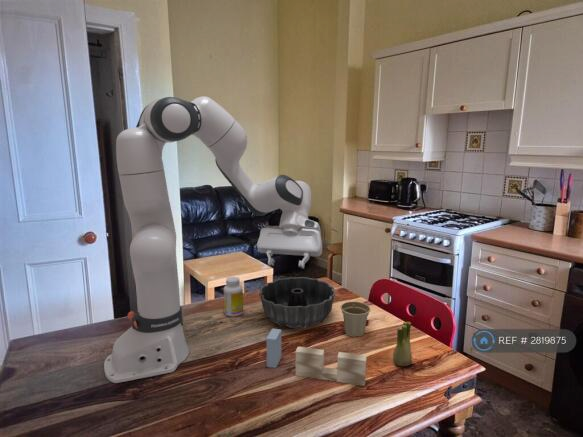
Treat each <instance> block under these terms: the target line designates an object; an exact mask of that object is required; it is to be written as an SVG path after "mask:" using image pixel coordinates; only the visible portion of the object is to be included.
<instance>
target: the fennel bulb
mask: <svg viewBox="0 0 583 437" xmlns="http://www.w3.org/2000/svg"><path fill="white" fill-rule="evenodd" d="M411 327H412V322H410V321H405V322H404V321H403V323H402V326H401V327H400V326H399V327H397V329H396V330H397V333H396V334H397V335H396V336H397V338H396V346H395V348H394V350H393V352H392V353H393V354H392V359H393V362H394V363H395V365H396V366H399V367H401V366H402V367H408V366H410V365H411V364H412V362H413V360H412V358H413V356H412V355H413V354H412V349H411V347H412V346H411V340H410V339H411V338H410V337H411Z"/></svg>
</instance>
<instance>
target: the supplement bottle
mask: <svg viewBox="0 0 583 437" xmlns="http://www.w3.org/2000/svg"><path fill="white" fill-rule="evenodd" d="M240 282H241V281H240V278H239V277H238V276H230V277H227V278H226V280H225V285H224V287H223V301H224V305H223V306H224V314H225V315H226V316H228V317H239V316H241V315H242V314H244V289H243V286H242V285H241V284H240Z"/></svg>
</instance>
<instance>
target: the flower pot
mask: <svg viewBox="0 0 583 437" xmlns="http://www.w3.org/2000/svg"><path fill="white" fill-rule="evenodd" d="M340 310H341V313H342V318H343V325H344V332H345V333H346V334H345V335H348V336H350V337H361V336H363V335H364V334H365V331H366V330H365V329H366V326H367V321H368V316H369V314H370V312H371V306H370V305H369V304H366V303H365V302H360V301H352V300H351V301H345V302H343V303H342V304H341V305H340Z"/></svg>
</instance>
